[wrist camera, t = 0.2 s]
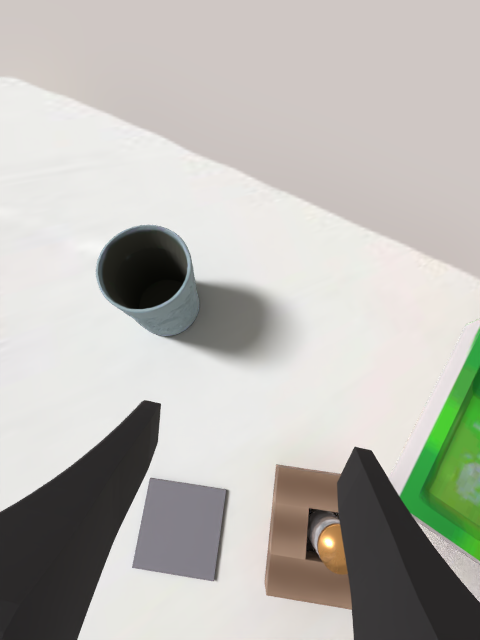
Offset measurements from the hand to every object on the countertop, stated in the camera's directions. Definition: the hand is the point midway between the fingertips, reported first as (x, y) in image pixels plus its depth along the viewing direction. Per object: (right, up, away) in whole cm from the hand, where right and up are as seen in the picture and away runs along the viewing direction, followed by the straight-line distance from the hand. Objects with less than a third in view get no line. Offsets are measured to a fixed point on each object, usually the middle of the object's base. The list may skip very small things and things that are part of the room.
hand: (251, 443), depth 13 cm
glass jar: (+9, -19, +26) cm, 34 cm away
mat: (-7, -19, +26) cm, 33 cm away
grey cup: (-10, +6, +35) cm, 37 cm away
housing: (+9, -19, +26) cm, 34 cm away
